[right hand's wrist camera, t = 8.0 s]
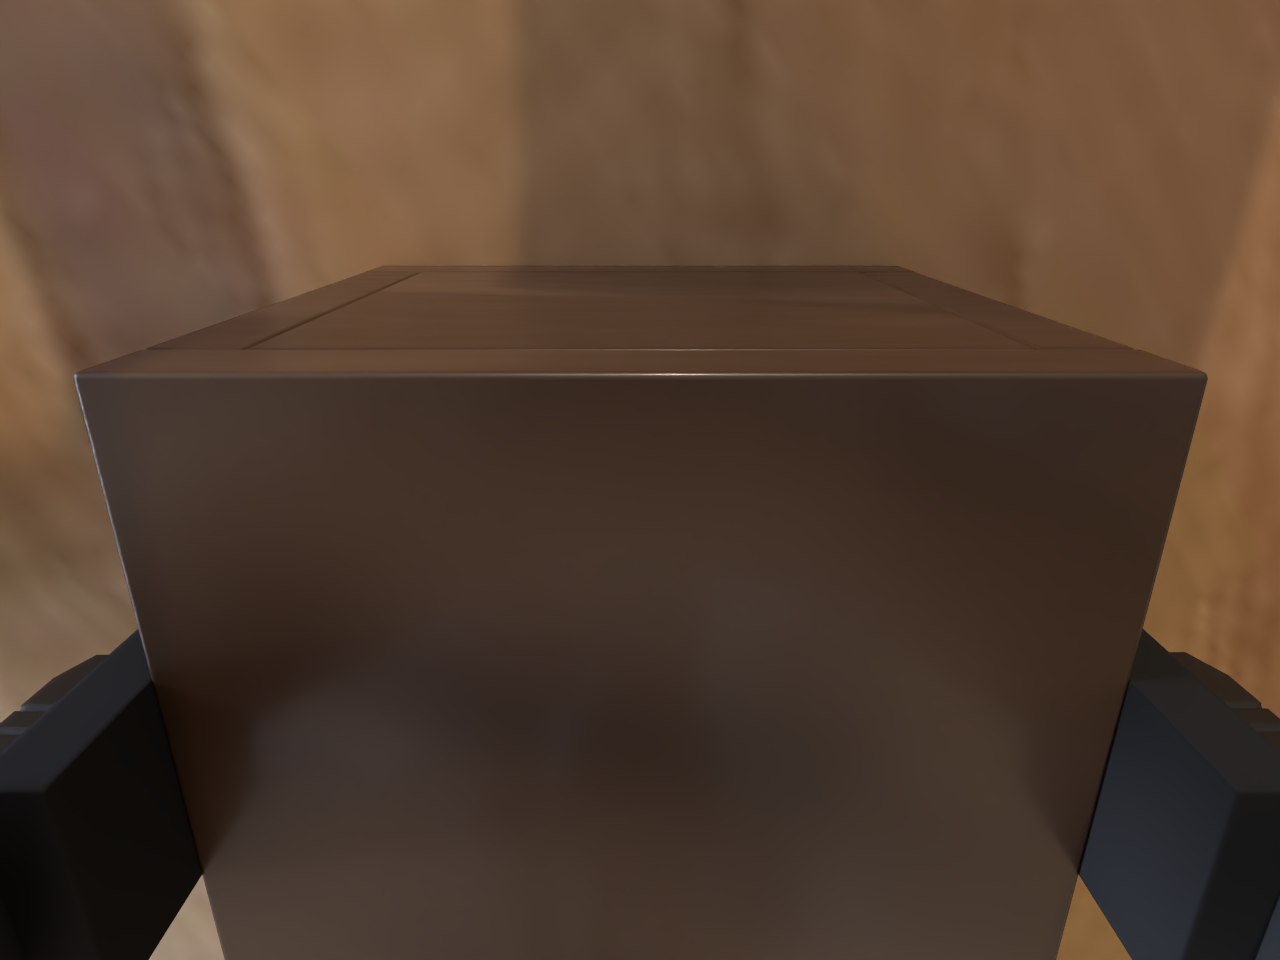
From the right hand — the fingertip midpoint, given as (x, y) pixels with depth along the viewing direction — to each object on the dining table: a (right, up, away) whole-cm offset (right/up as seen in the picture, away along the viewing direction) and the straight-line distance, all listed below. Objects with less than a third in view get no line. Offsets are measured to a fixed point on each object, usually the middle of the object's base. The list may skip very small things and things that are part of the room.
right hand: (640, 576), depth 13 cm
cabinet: (0, -4, +6) cm, 7 cm away
